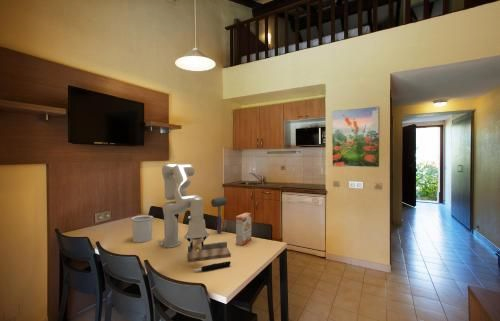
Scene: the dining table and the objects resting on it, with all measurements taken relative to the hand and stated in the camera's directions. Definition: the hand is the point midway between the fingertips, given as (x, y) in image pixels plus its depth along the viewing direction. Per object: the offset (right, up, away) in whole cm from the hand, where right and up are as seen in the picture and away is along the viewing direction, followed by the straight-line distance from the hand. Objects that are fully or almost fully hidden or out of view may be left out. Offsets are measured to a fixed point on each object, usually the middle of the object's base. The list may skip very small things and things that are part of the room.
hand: (196, 247), depth 140 cm
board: (+5, -10, +13) cm, 17 cm away
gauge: (+1, -1, -2) cm, 3 cm away
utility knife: (+10, -10, -6) cm, 15 cm away
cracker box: (+27, -9, +36) cm, 46 cm away
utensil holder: (-52, -10, +44) cm, 69 cm away
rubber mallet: (+6, -9, +59) cm, 60 cm away
